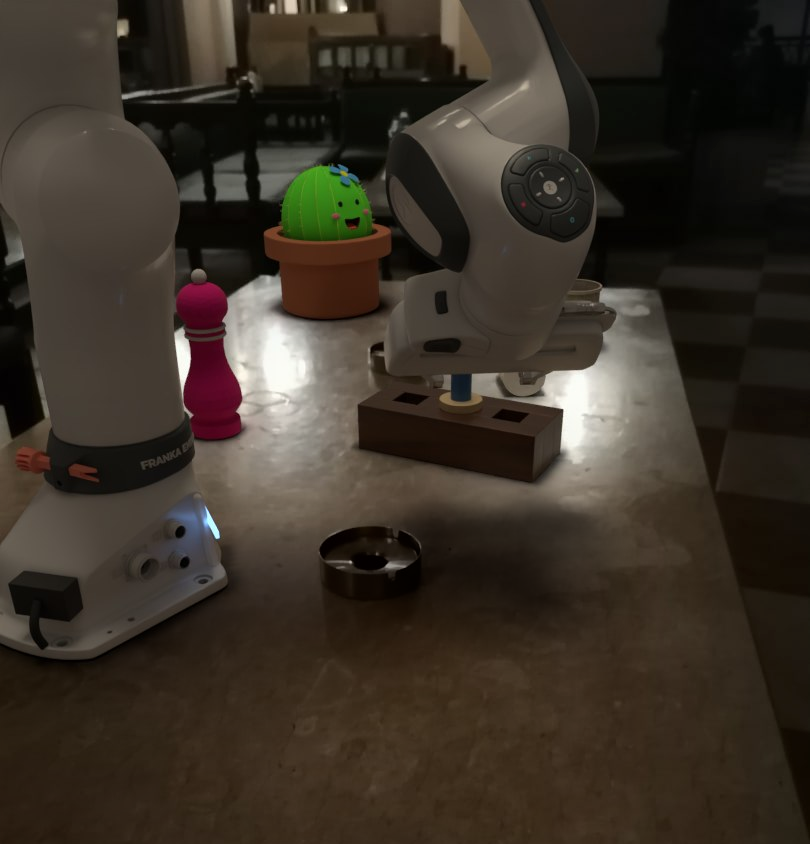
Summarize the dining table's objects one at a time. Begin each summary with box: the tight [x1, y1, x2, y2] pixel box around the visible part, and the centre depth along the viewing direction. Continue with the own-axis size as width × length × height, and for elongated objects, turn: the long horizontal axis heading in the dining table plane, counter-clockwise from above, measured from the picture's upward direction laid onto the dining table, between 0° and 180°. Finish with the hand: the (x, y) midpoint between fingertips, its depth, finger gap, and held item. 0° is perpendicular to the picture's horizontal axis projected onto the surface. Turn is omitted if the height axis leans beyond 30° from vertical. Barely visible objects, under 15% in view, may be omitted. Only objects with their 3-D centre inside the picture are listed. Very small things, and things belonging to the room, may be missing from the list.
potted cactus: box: [263, 163, 392, 320], centre depth 161 cm, size 22×22×25 cm
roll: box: [498, 372, 547, 397], centre depth 128 cm, size 6×12×6 cm, turn 4°
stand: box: [357, 380, 565, 483], centre depth 107 cm, size 9×22×6 cm, turn 62°
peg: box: [439, 374, 482, 414], centre depth 105 cm, size 5×5×11 cm
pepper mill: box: [175, 268, 243, 440], centre depth 110 cm, size 7×7×20 cm
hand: (480, 380), depth 91 cm, fingers open, 8 cm apart
